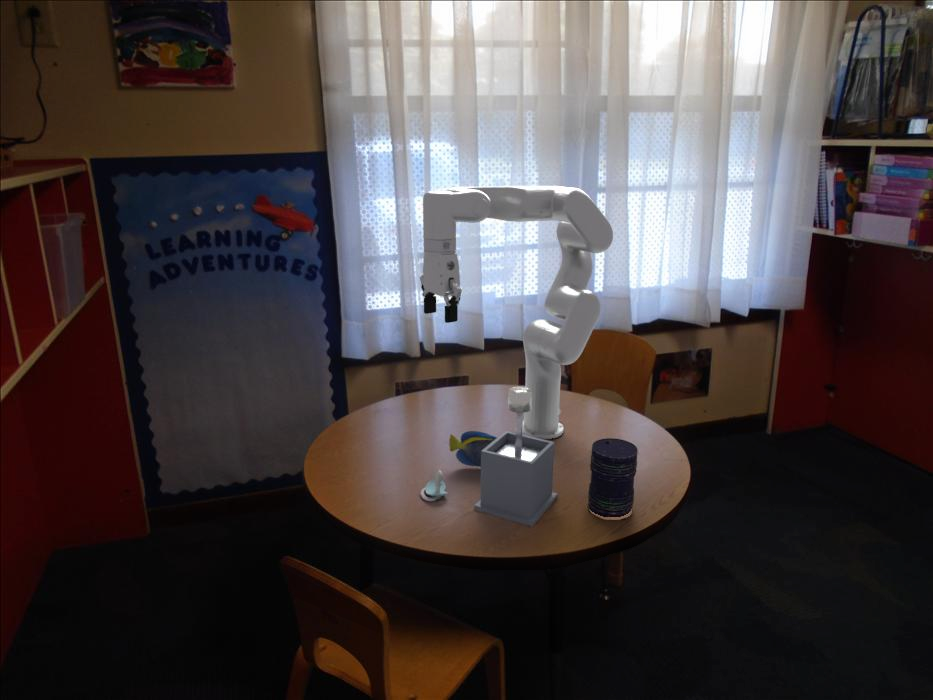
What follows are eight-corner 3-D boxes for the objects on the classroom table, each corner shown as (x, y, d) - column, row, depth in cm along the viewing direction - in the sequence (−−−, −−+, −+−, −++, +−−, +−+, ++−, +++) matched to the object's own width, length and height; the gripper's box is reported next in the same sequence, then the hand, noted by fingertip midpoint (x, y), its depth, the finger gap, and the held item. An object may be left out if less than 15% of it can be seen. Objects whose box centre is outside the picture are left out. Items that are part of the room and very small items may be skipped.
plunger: (508, 446, 157) (509, 380, 152) (546, 455, 153) (549, 387, 148) (489, 462, 149) (490, 393, 144) (528, 472, 145) (531, 402, 140)
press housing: (502, 482, 163) (503, 428, 159) (557, 497, 157) (560, 441, 153) (474, 509, 152) (474, 451, 147) (532, 526, 145) (534, 466, 141)
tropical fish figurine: (512, 466, 171) (513, 429, 168) (512, 472, 168) (513, 434, 165) (449, 463, 172) (449, 427, 169) (448, 469, 169) (448, 432, 166)
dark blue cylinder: (641, 516, 149) (647, 454, 145) (602, 524, 146) (607, 461, 141) (616, 494, 158) (621, 435, 154) (579, 502, 155) (582, 441, 150)
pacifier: (422, 505, 154) (448, 502, 155) (420, 480, 152) (447, 477, 153) (419, 489, 161) (444, 486, 161) (417, 465, 159) (443, 462, 160)
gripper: (474, 249, 154) (473, 323, 159) (434, 239, 168) (435, 307, 173) (445, 252, 150) (445, 328, 155) (407, 242, 164) (409, 311, 169)
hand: (440, 317), depth 164 cm, fingers open, 9 cm apart
